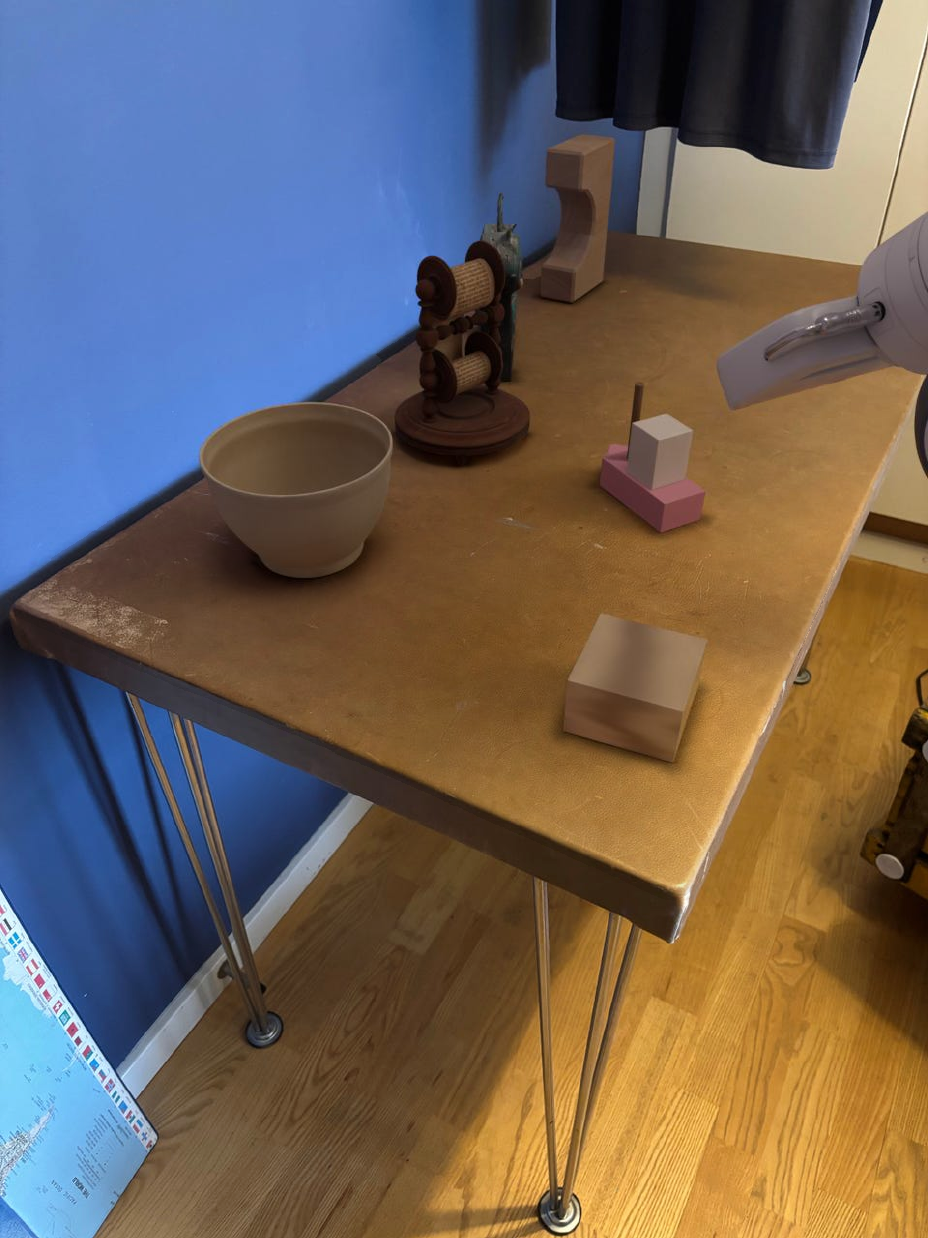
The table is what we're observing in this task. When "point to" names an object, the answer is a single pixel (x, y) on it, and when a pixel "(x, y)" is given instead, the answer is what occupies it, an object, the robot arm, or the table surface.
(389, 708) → the table surface
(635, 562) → the table surface
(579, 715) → the birch block
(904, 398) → the table surface
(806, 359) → the robot arm
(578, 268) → the decorative block
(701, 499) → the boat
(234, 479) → the planter bowl
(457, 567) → the table surface
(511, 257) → the ceramic cat
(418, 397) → the scroll
